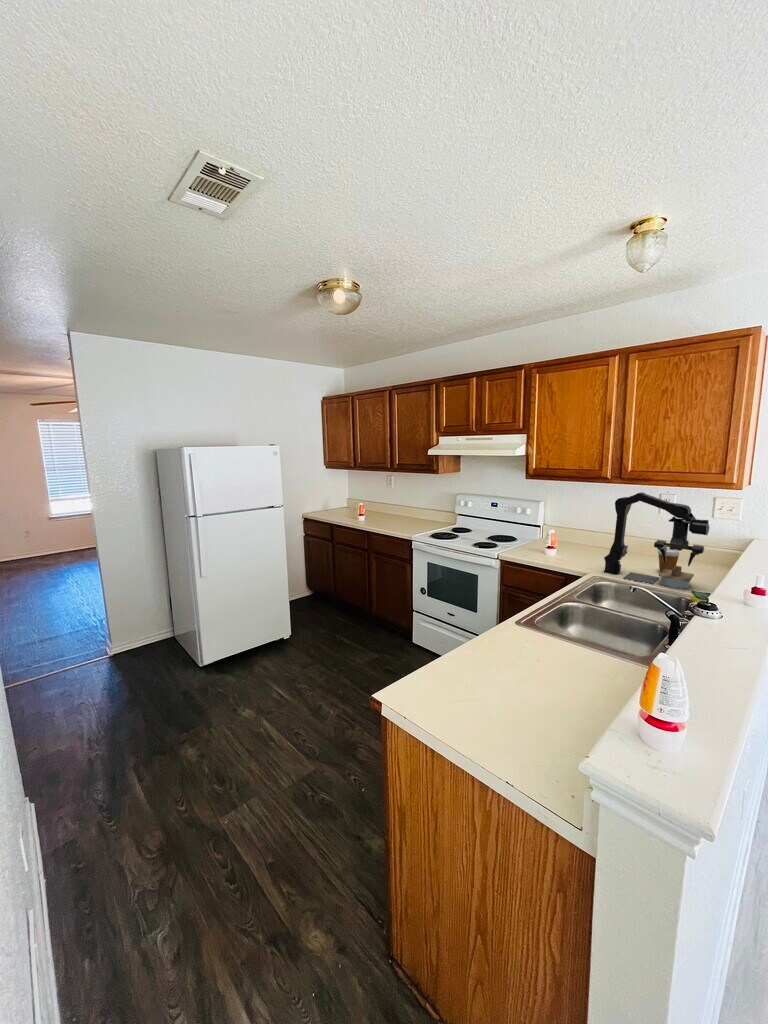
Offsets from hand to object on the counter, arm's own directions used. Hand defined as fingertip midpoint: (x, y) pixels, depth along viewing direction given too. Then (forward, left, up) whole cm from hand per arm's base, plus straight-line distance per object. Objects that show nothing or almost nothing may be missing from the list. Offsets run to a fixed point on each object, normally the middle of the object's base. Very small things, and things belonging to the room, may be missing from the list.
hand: (676, 564), depth 197 cm
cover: (0, 0, -6) cm, 6 cm away
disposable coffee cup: (-7, +20, -10) cm, 24 cm away
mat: (-14, 0, -10) cm, 17 cm away
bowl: (0, 0, -10) cm, 10 cm away
